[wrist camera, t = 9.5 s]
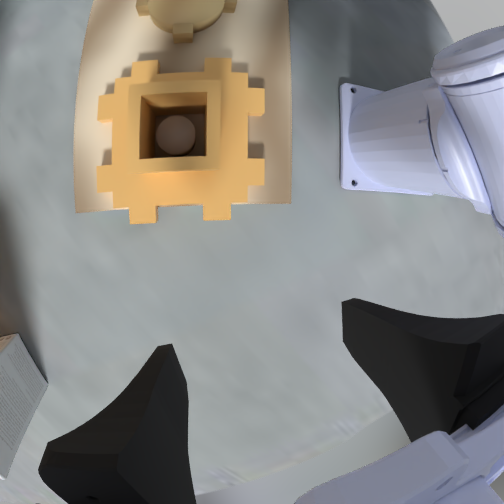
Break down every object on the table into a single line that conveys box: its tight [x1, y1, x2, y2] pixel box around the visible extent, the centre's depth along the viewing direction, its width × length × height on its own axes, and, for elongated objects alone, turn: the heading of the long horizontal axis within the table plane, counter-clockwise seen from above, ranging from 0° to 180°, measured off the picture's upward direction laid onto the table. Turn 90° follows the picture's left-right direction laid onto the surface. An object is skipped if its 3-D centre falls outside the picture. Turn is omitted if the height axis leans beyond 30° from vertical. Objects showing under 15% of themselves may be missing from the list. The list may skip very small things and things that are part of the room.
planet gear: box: [96, 58, 265, 224], centre depth 14 cm, size 10×10×5 cm
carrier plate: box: [74, 0, 292, 213], centre depth 14 cm, size 14×18×4 cm
